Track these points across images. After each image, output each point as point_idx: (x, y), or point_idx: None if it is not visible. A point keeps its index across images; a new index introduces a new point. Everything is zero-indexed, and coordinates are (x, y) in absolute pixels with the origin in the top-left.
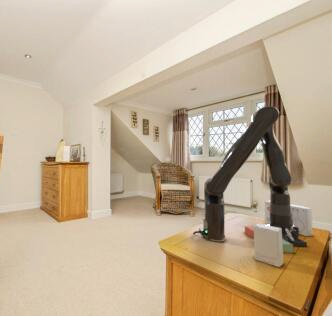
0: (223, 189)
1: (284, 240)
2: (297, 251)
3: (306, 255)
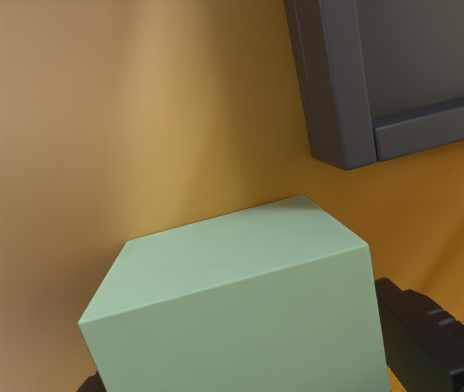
0: None
1: (370, 380)
2: None
3: None
